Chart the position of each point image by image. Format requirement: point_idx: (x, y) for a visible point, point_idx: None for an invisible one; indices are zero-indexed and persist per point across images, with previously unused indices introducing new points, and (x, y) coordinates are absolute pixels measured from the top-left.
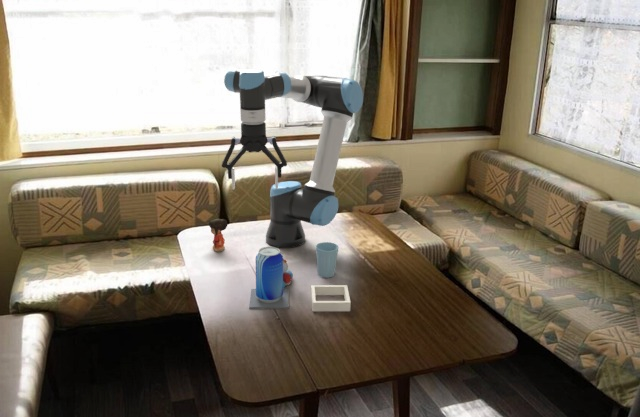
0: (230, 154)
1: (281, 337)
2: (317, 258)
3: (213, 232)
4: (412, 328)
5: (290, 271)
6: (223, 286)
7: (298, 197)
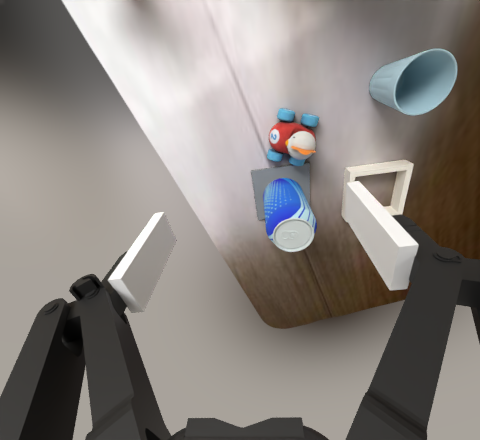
0: (71, 423)
1: (301, 265)
2: (383, 96)
3: None
4: (463, 237)
5: (315, 118)
6: (205, 162)
7: None
